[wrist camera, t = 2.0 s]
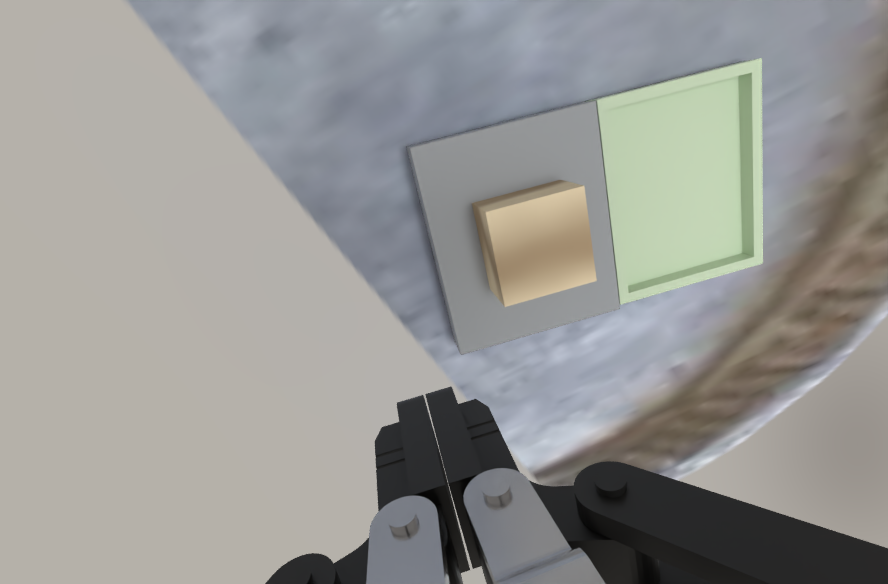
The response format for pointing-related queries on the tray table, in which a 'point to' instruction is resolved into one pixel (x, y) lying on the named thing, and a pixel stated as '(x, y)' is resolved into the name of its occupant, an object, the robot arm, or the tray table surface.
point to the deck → (501, 172)
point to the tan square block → (536, 241)
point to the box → (684, 178)
